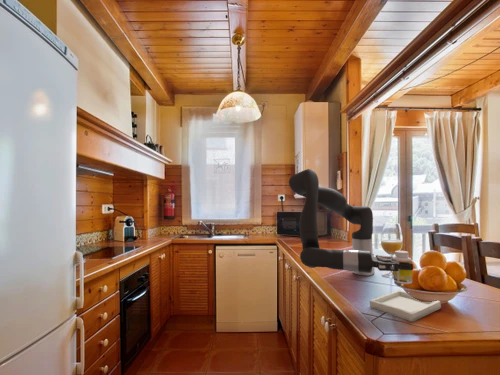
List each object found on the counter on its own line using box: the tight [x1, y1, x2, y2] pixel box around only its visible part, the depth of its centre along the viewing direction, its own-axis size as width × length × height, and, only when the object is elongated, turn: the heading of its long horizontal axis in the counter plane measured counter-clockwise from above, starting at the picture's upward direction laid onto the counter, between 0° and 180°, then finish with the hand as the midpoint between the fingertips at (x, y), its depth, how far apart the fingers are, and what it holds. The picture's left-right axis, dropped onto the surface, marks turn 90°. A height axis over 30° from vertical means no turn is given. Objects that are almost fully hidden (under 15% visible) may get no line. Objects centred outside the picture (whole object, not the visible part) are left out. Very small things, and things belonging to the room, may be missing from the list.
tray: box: [369, 289, 442, 323], centre depth 90 cm, size 18×14×2 cm
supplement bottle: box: [392, 250, 413, 285], centre depth 91 cm, size 6×6×10 cm
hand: (410, 264), depth 90 cm, fingers closed on supplement bottle, 5 cm apart
